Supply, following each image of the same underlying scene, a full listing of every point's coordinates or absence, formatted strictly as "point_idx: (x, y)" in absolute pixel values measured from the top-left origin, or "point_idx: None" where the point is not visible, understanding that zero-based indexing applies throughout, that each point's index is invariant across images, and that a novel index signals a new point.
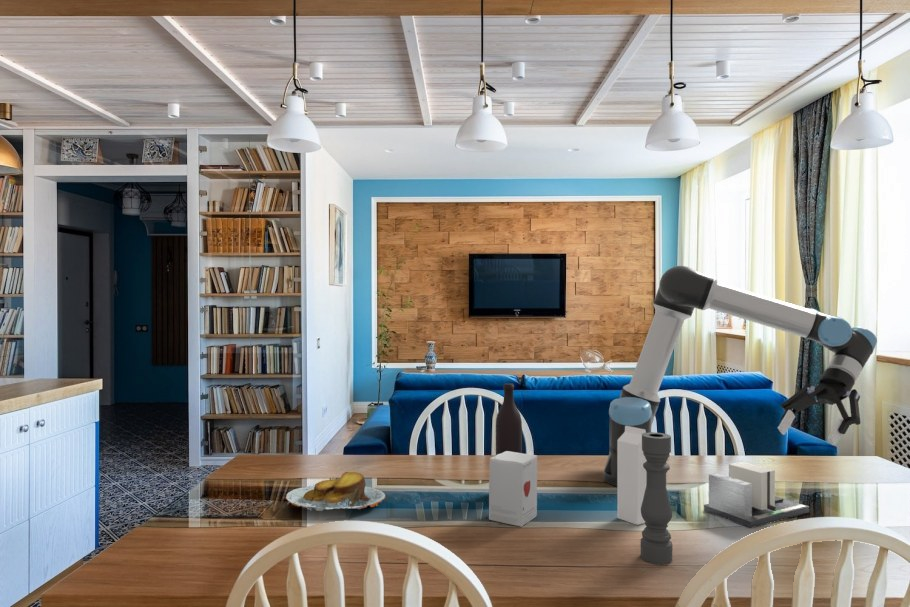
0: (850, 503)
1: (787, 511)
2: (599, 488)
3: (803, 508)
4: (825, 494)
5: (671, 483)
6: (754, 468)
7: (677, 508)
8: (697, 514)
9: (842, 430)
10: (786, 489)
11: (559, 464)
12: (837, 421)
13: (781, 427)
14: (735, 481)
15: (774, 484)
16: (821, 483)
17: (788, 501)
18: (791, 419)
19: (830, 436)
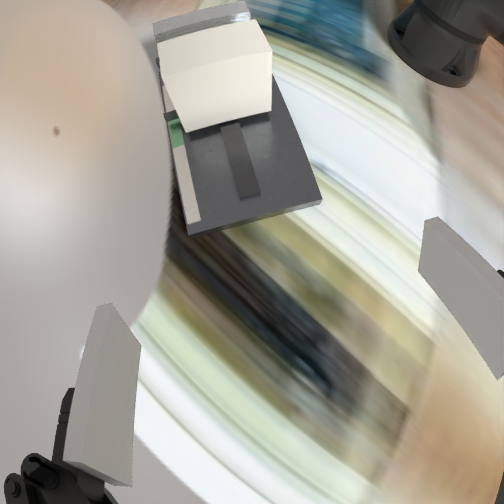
0: (227, 400)
1: (174, 159)
2: (388, 7)
3: (184, 213)
4: (307, 396)
5: (427, 96)
6: (197, 45)
7: (281, 31)
8: None
9: (68, 395)
10: (369, 323)
11: (491, 39)
12: (82, 430)
13: (431, 232)
14: (180, 18)
15: (172, 101)
16: (383, 446)
17: (235, 211)
18: (482, 335)
19: (99, 316)
